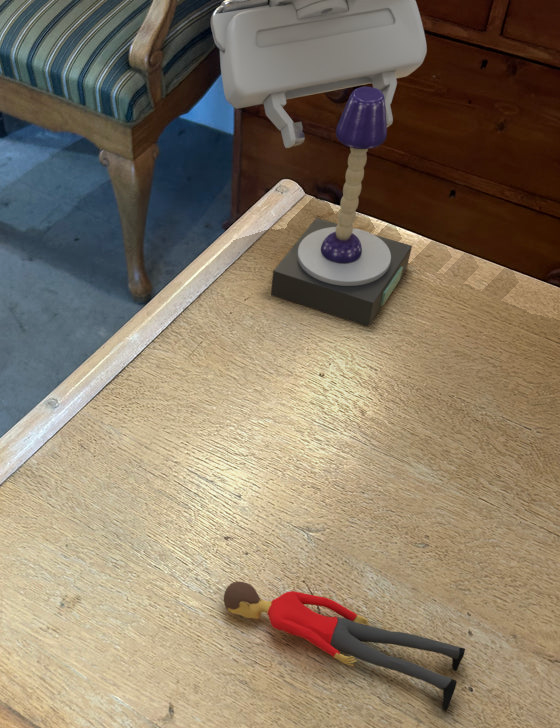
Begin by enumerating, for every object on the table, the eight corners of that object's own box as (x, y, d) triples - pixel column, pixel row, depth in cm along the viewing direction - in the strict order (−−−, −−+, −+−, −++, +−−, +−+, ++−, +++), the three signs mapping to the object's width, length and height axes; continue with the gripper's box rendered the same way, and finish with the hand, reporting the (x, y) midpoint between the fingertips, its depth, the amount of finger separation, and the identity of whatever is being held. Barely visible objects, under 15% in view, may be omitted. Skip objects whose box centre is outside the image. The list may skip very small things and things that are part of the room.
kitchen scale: (408, 270, 97) (415, 241, 94) (370, 327, 91) (376, 298, 88) (313, 241, 100) (317, 212, 97) (270, 294, 94) (273, 265, 92)
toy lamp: (372, 259, 92) (404, 97, 79) (334, 272, 91) (360, 110, 78) (346, 235, 95) (374, 75, 81) (309, 247, 93) (330, 86, 80)
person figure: (450, 678, 68) (228, 604, 72) (466, 636, 66) (237, 563, 71) (445, 717, 64) (209, 635, 68) (462, 673, 62) (218, 592, 66)
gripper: (215, -14, 79) (251, 145, 82) (418, -47, 84) (448, 105, 86) (196, 19, 86) (230, 166, 88) (386, -13, 90) (414, 128, 92)
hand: (339, 136), depth 87 cm, fingers open, 8 cm apart
